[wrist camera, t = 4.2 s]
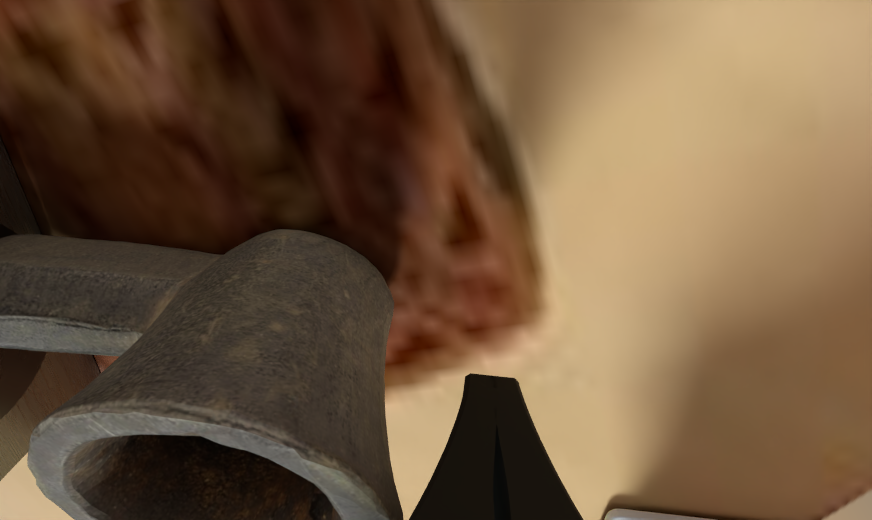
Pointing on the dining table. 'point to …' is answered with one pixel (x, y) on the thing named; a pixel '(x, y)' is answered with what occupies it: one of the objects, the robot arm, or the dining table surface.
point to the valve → (25, 369)
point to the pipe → (209, 377)
